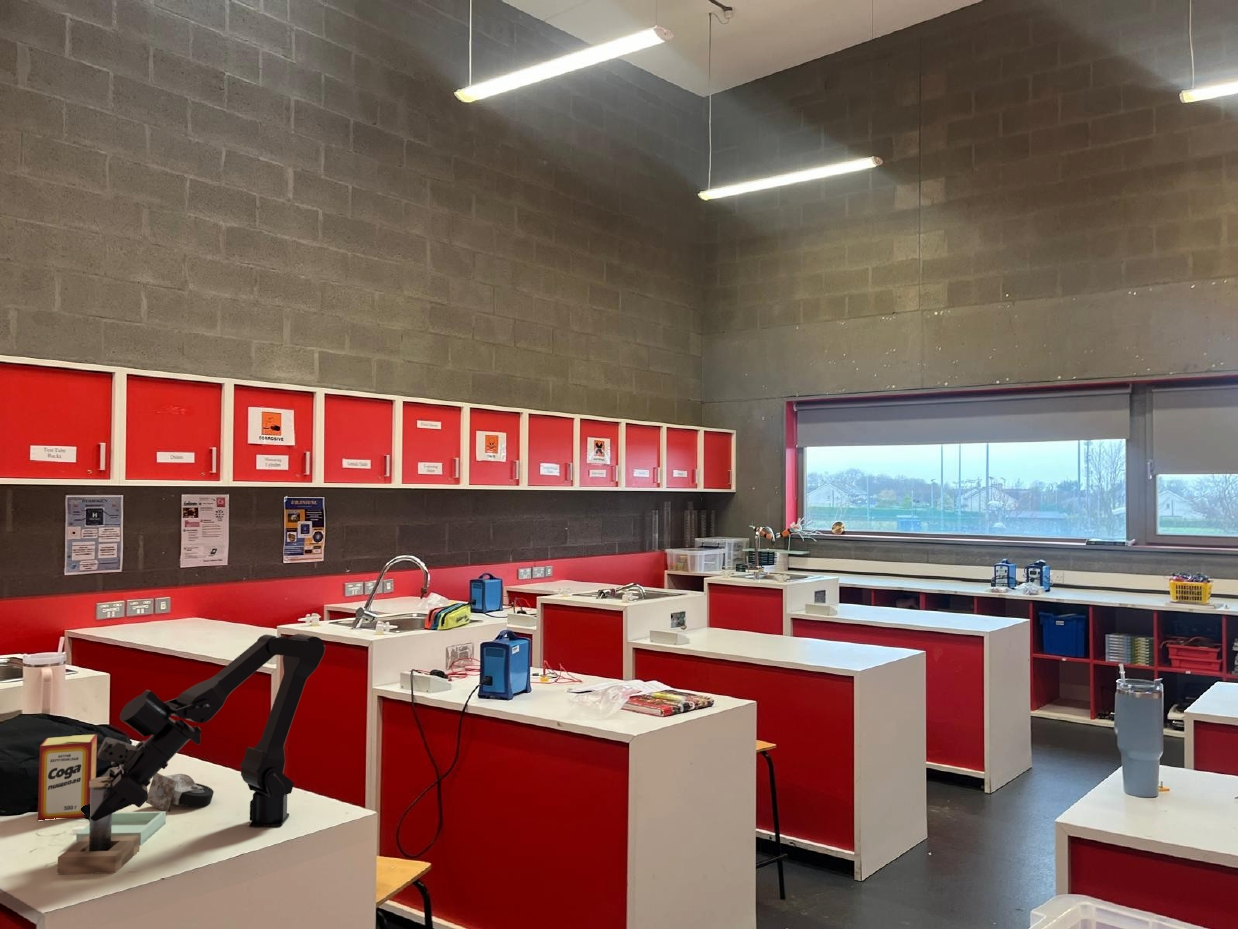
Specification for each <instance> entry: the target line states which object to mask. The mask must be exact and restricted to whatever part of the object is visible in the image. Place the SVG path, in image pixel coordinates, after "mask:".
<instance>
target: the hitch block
mask: <svg viewBox="0 0 1238 929" xmlns="http://www.w3.org/2000/svg"><path fill="white" fill-rule="evenodd" d="M139 843H140V836H111V849H110V850H108V851H89V837H84V838H83V839H81V840H80V841H79V842H77V843H75V844H74V845H72V846H71V847H69V848H68V849H67V850H65V851H64V852H63V853H61V854H60V855H59V856H57V873H56V874H57V875H77V873H79V874H80V875H81V874H87V875H88V874H116V873H117V872H118V871H119V870H121V869H122V868H123V867H124V866H125V865H126V864H127V863H128V862H129V861H130V860H131V859H133V858H134V857H135V856H136V855H137V854H138V853H139V852H140V846H139ZM137 852H138V853H137ZM135 854H136V855H135ZM134 855H135V856H134ZM133 856H134V857H133ZM79 874H78V875H79Z"/></svg>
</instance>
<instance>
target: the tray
mask: <svg viewBox="0 0 1238 929" xmlns="http://www.w3.org/2000/svg"><path fill="white" fill-rule="evenodd" d="M166 820H167V812H166V811H162V810H161V811H116V812H114V813H112V832H111V836H140V843H139V845H141V846H142V845H143V844H144V843H145V842H147V839H148V838H149V839H150V838H151V837H152V836H153V835H154V834H156V833H157V832H158V831H159V830H160V829H161V828H162V827H164V826H165V825H166V823H167V822H166ZM89 827H90V823H89V824H88V825H87V826H85V827H84V828H83V829H81V830H79V831H78V832H77V833H76V835H75V836H76V837H75V839H76V840H75V842H76V843H77V842H79V841H80V840H81V839H83V838H84V837H89ZM155 832H156V833H155ZM149 839H148V840H149ZM76 843H75V844H76Z"/></svg>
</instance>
